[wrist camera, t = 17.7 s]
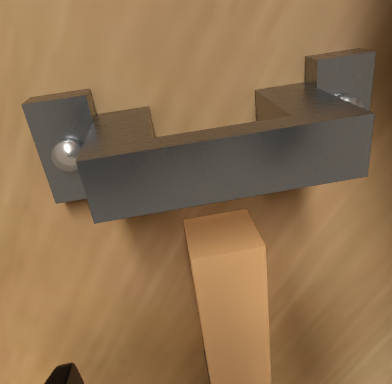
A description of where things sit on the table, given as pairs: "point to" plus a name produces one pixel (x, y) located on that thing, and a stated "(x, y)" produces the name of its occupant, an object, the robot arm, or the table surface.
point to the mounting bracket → (209, 144)
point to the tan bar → (231, 296)
